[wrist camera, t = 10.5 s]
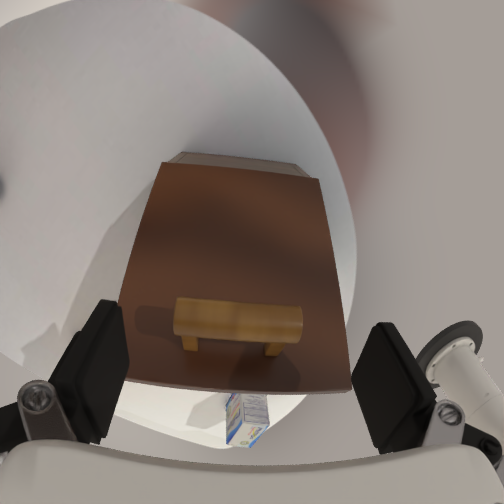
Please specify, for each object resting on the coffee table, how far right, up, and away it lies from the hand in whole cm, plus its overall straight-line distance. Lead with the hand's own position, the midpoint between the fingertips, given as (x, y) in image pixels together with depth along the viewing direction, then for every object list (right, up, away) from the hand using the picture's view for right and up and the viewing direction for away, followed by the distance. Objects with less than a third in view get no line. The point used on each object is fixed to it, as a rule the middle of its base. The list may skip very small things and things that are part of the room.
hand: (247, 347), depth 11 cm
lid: (-1, +3, +8) cm, 9 cm away
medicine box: (-1, -21, +38) cm, 43 cm away
